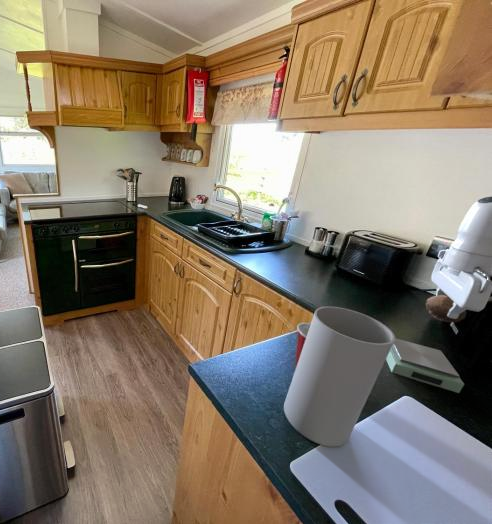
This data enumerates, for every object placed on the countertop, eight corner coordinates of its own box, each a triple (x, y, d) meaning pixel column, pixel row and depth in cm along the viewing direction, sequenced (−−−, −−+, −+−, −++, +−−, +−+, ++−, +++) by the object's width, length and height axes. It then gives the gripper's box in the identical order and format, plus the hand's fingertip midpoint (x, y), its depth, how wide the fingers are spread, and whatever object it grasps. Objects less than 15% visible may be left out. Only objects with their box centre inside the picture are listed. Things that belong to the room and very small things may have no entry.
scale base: (437, 361, 86) (442, 352, 84) (459, 394, 74) (466, 383, 72) (379, 345, 91) (384, 336, 90) (391, 373, 79) (396, 362, 78)
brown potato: (426, 295, 82) (444, 285, 77) (457, 315, 79) (478, 306, 74) (412, 312, 80) (429, 302, 75) (443, 333, 77) (463, 325, 71)
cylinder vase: (331, 403, 68) (369, 311, 59) (360, 454, 56) (413, 350, 47) (276, 393, 69) (305, 302, 60) (293, 441, 58) (331, 338, 49)
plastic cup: (338, 375, 77) (353, 338, 73) (317, 390, 71) (332, 351, 67) (299, 351, 85) (310, 317, 81) (277, 363, 80) (288, 327, 75)
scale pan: (439, 352, 84) (440, 350, 84) (458, 378, 74) (459, 376, 74) (388, 338, 89) (389, 336, 89) (399, 361, 79) (401, 359, 78)
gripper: (512, 279, 62) (480, 333, 67) (467, 254, 79) (444, 298, 84) (472, 272, 64) (444, 324, 69) (437, 249, 81) (416, 292, 86)
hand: (444, 310), depth 77 cm, fingers closed on brown potato, 6 cm apart
